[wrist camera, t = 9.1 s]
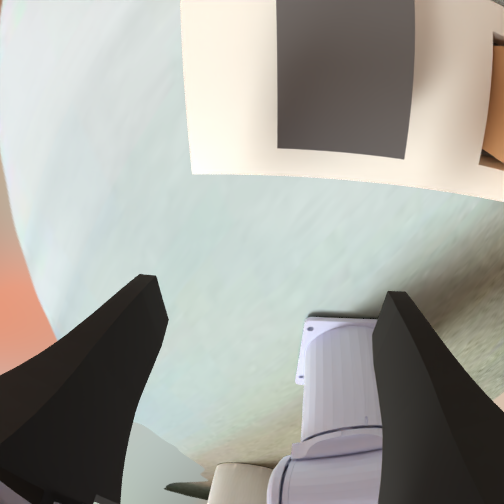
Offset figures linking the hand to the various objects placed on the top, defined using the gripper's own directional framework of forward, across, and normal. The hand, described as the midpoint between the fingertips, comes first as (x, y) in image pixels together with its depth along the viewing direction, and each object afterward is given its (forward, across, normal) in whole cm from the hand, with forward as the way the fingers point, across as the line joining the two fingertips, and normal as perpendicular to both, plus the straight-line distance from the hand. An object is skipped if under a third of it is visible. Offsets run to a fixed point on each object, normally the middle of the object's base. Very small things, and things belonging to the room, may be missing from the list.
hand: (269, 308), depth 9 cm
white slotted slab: (+9, -7, -7) cm, 14 cm away
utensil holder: (+10, +4, +62) cm, 63 cm away
